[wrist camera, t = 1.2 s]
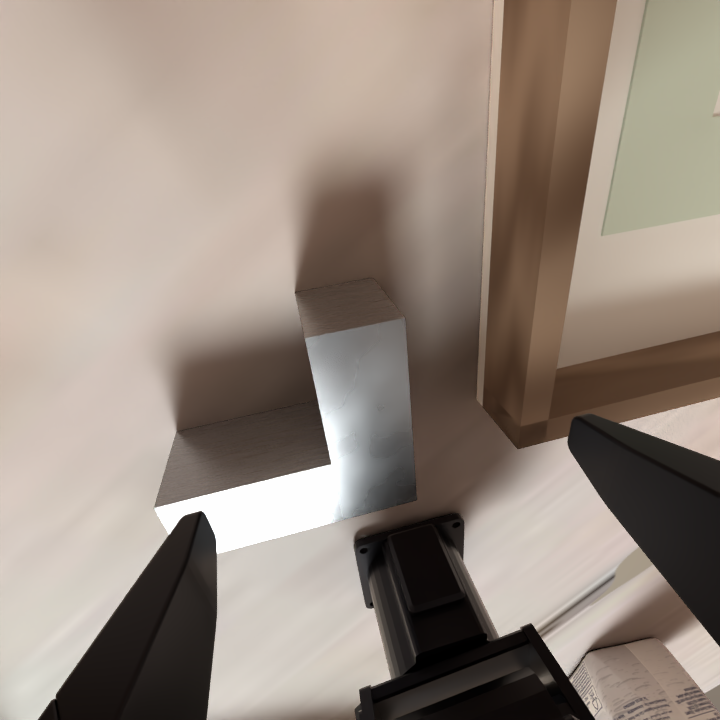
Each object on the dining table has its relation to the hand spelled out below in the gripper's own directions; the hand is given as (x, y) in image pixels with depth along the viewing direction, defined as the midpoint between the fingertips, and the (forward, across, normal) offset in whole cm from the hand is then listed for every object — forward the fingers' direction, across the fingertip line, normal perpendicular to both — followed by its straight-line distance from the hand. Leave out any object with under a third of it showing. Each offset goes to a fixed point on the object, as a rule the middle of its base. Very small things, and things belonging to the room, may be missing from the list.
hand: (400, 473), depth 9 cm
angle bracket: (+8, +3, +2) cm, 8 cm away
